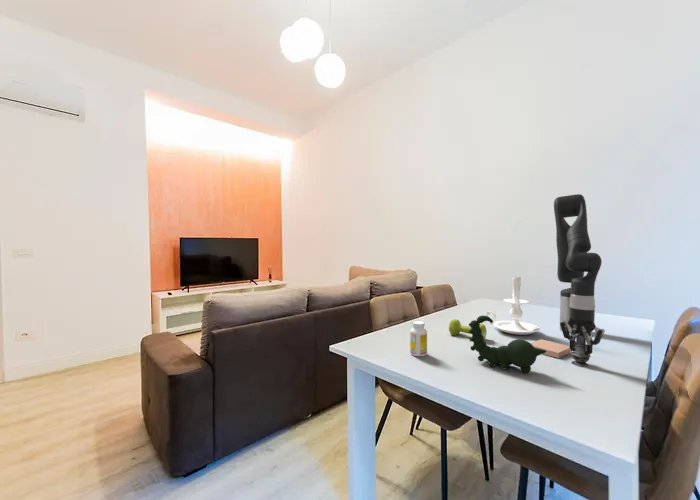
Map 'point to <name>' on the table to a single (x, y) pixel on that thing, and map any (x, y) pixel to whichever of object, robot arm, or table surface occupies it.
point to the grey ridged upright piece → (580, 352)
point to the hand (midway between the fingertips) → (580, 352)
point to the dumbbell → (463, 328)
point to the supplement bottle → (418, 339)
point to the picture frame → (552, 348)
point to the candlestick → (515, 314)
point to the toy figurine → (503, 349)
